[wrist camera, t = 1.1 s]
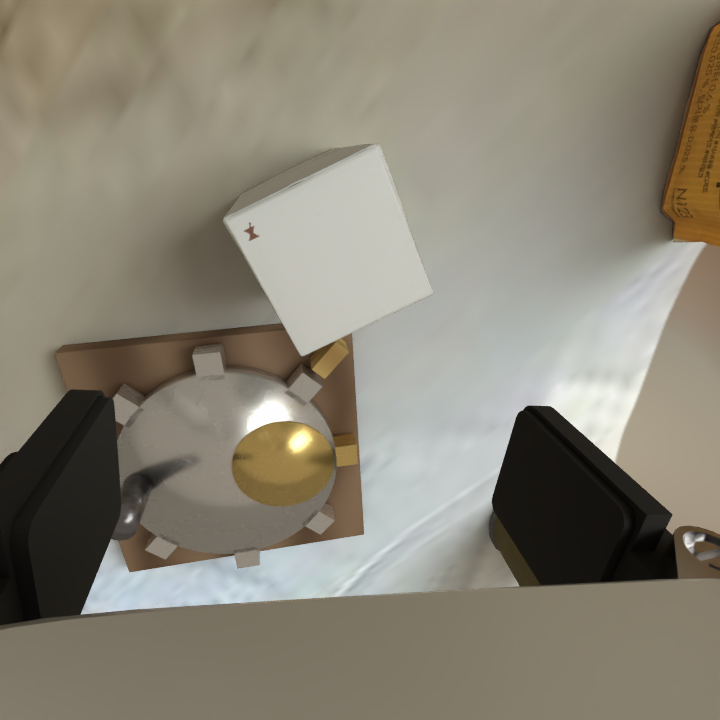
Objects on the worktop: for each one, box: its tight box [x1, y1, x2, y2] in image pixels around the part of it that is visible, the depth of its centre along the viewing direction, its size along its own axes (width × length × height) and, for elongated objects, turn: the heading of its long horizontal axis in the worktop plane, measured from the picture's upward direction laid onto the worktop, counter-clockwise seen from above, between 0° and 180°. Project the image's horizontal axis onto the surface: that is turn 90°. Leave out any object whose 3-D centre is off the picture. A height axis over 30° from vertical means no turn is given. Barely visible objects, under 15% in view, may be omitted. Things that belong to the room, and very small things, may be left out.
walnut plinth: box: [55, 323, 364, 572], centre depth 36 cm, size 20×20×4 cm
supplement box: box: [223, 144, 433, 356], centre depth 26 cm, size 7×7×13 cm
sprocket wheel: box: [111, 343, 358, 568], centre depth 34 cm, size 19×19×6 cm
